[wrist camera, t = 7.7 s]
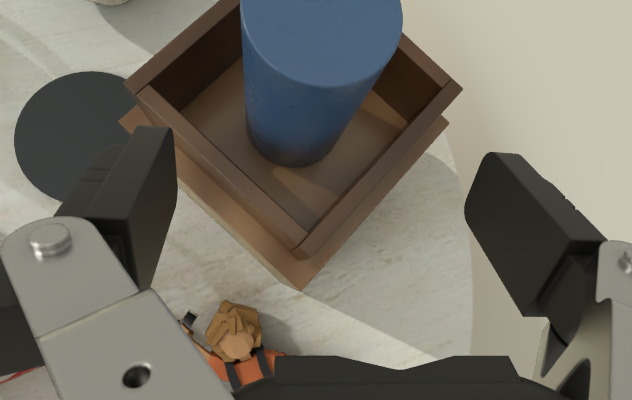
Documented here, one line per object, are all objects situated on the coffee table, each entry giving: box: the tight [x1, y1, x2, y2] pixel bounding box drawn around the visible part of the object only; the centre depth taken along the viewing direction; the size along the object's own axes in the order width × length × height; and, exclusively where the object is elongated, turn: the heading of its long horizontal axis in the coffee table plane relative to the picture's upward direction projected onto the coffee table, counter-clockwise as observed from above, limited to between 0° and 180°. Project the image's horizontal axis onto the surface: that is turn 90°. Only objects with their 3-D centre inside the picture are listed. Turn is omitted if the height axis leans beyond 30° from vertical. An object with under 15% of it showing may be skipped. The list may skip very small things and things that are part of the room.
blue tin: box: [240, 0, 403, 168], centre depth 20 cm, size 6×6×11 cm
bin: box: [118, 0, 463, 291], centre depth 29 cm, size 14×14×19 cm
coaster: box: [14, 71, 137, 202], centre depth 36 cm, size 12×12×1 cm
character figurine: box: [177, 300, 287, 391], centre depth 34 cm, size 12×5×18 cm
